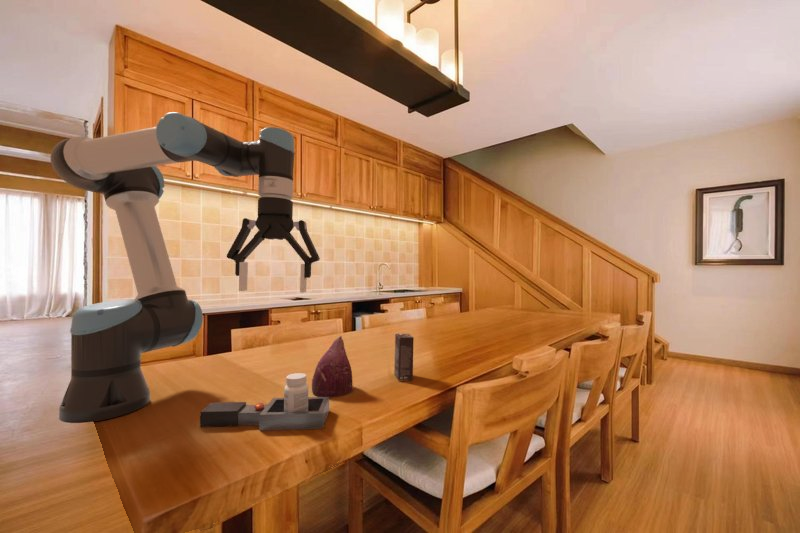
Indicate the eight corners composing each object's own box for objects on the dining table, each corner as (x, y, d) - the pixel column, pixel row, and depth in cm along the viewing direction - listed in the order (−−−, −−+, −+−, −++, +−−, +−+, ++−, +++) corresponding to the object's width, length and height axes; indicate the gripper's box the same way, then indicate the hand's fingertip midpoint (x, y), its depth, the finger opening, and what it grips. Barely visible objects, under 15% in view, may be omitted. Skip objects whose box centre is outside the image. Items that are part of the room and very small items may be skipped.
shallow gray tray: (194, 432, 65) (194, 415, 65) (216, 413, 73) (216, 398, 73) (322, 428, 66) (322, 412, 66) (329, 410, 74) (329, 395, 75)
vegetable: (336, 393, 94) (344, 337, 98) (359, 398, 86) (366, 338, 90) (302, 392, 87) (311, 333, 91) (324, 398, 79) (333, 333, 84)
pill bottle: (311, 412, 72) (311, 372, 72) (303, 422, 67) (303, 380, 67) (290, 411, 72) (290, 371, 72) (279, 421, 68) (280, 379, 68)
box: (414, 380, 95) (414, 337, 95) (398, 381, 94) (398, 337, 94) (408, 373, 101) (408, 333, 101) (393, 374, 100) (394, 333, 100)
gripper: (211, 193, 74) (209, 291, 74) (327, 197, 75) (325, 294, 75) (227, 199, 81) (225, 288, 81) (333, 203, 82) (330, 291, 82)
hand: (273, 291), depth 78 cm, fingers open, 13 cm apart
